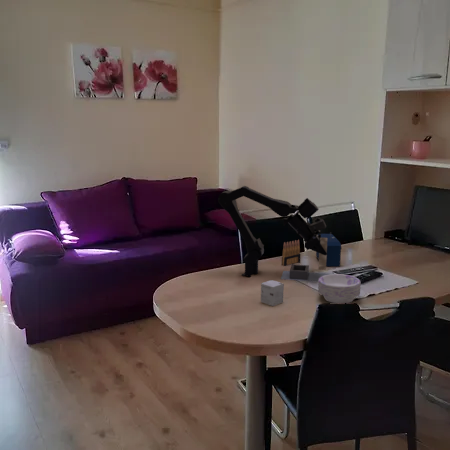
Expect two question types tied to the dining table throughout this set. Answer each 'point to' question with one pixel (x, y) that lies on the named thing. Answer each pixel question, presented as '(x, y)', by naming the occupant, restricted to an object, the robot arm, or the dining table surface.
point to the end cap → (299, 272)
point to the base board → (311, 277)
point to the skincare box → (272, 292)
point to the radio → (332, 251)
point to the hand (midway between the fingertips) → (326, 253)
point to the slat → (322, 257)
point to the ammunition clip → (291, 253)
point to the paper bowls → (339, 288)
